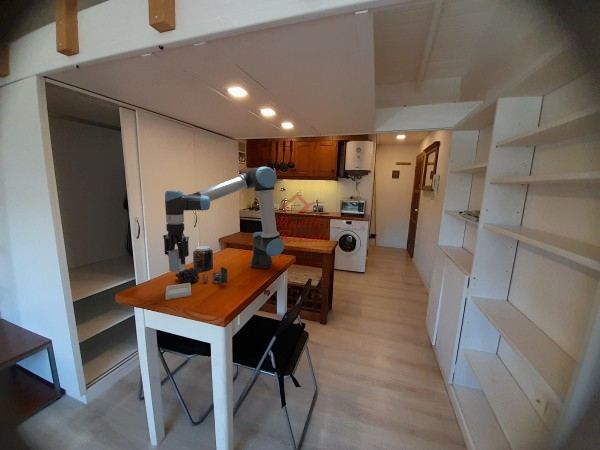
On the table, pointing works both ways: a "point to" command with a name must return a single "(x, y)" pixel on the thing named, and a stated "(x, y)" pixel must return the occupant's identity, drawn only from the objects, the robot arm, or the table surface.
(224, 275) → the crank
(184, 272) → the fruit
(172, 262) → the block
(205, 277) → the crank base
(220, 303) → the table surface
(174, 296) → the tray
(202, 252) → the jar
